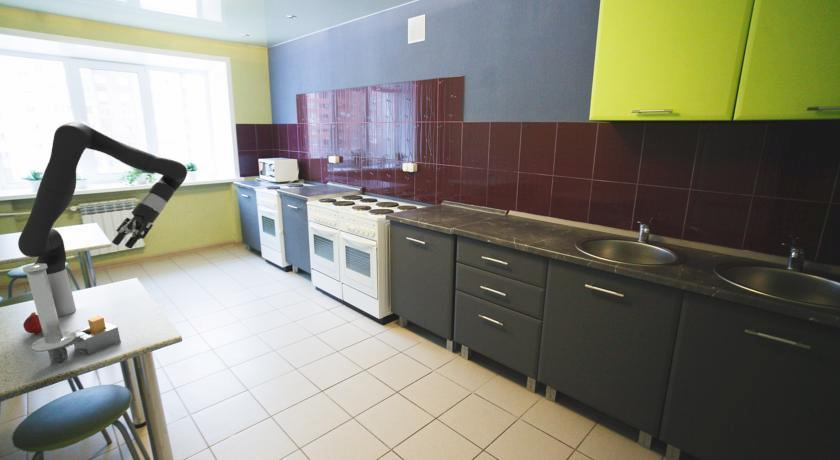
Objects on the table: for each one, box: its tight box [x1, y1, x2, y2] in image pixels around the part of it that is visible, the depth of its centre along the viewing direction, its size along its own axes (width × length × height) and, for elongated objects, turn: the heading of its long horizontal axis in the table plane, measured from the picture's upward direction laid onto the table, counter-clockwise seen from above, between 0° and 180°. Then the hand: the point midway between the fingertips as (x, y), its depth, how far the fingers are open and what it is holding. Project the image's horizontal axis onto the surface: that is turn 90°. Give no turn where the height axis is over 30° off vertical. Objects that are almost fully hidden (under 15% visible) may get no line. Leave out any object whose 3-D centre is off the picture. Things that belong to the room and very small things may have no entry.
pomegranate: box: [23, 311, 43, 335], centre depth 135 cm, size 6×6×8 cm
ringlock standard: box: [22, 263, 121, 365], centre depth 121 cm, size 10×20×30 cm, turn 152°
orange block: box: [87, 315, 106, 334], centre depth 129 cm, size 3×3×9 cm
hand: (121, 245), depth 139 cm, fingers open, 8 cm apart
